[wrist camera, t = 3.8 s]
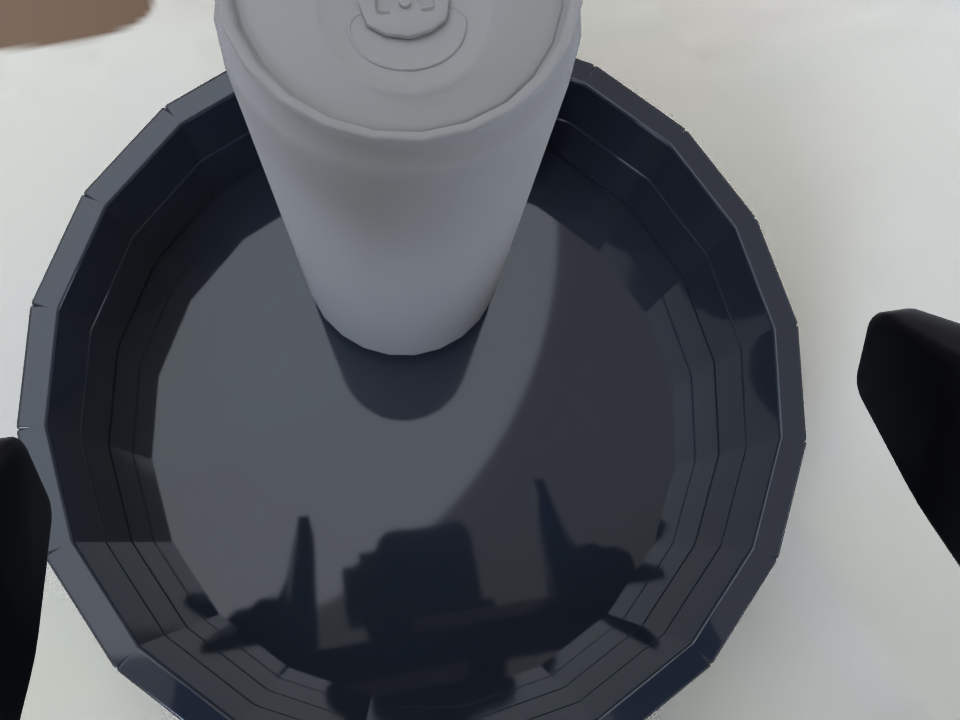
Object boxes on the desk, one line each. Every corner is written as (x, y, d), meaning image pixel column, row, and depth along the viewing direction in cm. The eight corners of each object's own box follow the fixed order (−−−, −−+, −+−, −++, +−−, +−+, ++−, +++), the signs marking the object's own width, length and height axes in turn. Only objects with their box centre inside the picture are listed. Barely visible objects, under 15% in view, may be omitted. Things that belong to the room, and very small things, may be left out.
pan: (859, 480, 23) (954, 467, 19) (333, 901, 20) (315, 991, 16) (494, 6, 24) (511, -95, 21) (-36, 323, 21) (-134, 275, 18)
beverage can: (318, 371, 22) (214, 170, 10) (299, 189, 23) (185, -190, 11) (508, 349, 22) (624, 133, 10) (483, 173, 23) (563, -207, 11)
